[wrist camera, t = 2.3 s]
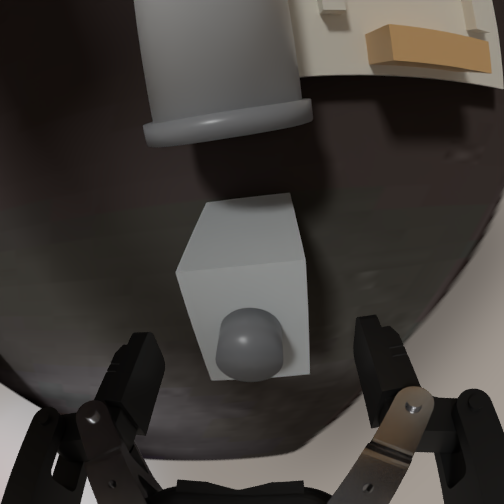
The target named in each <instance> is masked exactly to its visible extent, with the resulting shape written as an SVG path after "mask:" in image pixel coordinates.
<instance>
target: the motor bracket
mask: <svg viewBox="0 0 504 504" xmlns="http://www.w3.org/2000/svg"><path fill="white" fill-rule="evenodd" d="M134 6H135V14H136V22H137V29H138V37H139V44H140V50H141V57H142V63H143V69H144V76H145V82H146V87H147V93H148V99H149V104H150V109H151V115H152V120H153V122H151V123H148V124H145V125H143V129H144V134H145V139H146V143H147V146H148V147H169V146H178V145H186V144H193V143H200V142H207V141H213V140H220V139H226V138H233V137H239V136H245V135H251V134H257V133H263V132H268V131H274V130H279V129H284V128H289V127H294V126H298V125H302V124H305V123H308V122H311V121H312V120H313V113H312V103H311V99H309V98H302V94H301V86H300V78H301V77H317V76H353V75H363V76H398V77H414V78H426V79H437V80H446V81H454V82H461V83H468V84H475V85H481V86H486V87H493V88H500V89H504V88H503V73H502V61H501V52H500V44H499V37H498V30H497V24H496V19H495V13H494V8H493V4H492V0H134Z"/></svg>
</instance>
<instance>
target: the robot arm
mask: <svg viewBox="0 0 504 504" xmlns="http://www.w3.org/2000/svg"><path fill="white" fill-rule="evenodd" d="M353 349H354V359H355V363H356V367H357V371H358V375H359V379H360V383H361V387H362V391H363V395H364V399H365V403H366V407H367V411H368V416H369V420H370V425H371V428H376V427H379V428H378V430H377V432H376V434H375V435H374V437H373V439H372V440H371V442H370V443H368V444H367V446H366V447H365V449H364V450H363V452H362V453H361V455H360V456H359V458H358V460H357V461H356V463H355V464H354V466H353V467H352V469H351V470H350V472H349V473H348V475H347V476H346V478H345V479H344V480H343V482H342V483H341V485H340V486H339V488H338V489H337V490H336V492H335V493H334V494H333V496H332V495H330V494H328V493H326V492H323V491H321V490H318V489H314V488H308V487H304V482H303V481H290V482H271V483H267V484H264V485H259V486H255V487H251V488H246V489H241V490H235V489H231V488H227V487H223V486H220V485H216V484H212V483H209V482H201V481H189V480H177V486H176V487H171V488H167V489H164V490H163V489H162V488H161V486H160V485H159V484H158V483H157V481H156V480H155V478H154V477H153V476H152V473H151V472H150V470H149V468H148V466H147V464H146V462H145V460H144V458H143V457H142V455H141V453H140V451H139V449H138V447H137V445H136V443H135V442H134V439H135V436H136V435H144V436H146V434H147V430H148V426H149V423H150V419H151V416H152V412H153V409H154V405H155V402H156V398H157V395H158V392H159V388H160V385H161V382H162V378H163V375H164V371H165V362H164V358H163V356H162V353H161V351H160V349H159V347H158V344H157V342H156V340H155V337H154V335H153V334H152V333H151V332H137V333H133V334H132V336H131V338H130V340H129V342H128V344H127V345H123V346H122V347H121V348H120V349H119V350H118V351H117V352H116V353H115V355H114V357H113V359H112V361H111V365H110V366H109V368H108V370H107V371H108V372H106V374H105V376H104V379H103V381H102V383H101V385H100V388H99V390H98V392H97V395H96V397H95V399H94V400H92V401H89V402H86V403H85V404H83V405H82V406H81V407H80V408H79V409H78V411H77V413H71V414H64V415H60V414H59V413H58V411H57V410H56V409H55V408H52V407H45V408H42V409H41V410H39V411H38V412H37V413H36V414H35V415H34V417H33V419H32V422H31V424H30V426H29V429H28V431H27V434H26V436H25V438H24V441H23V443H22V446H21V448H20V451H19V453H18V456H17V458H16V461H15V464H14V466H13V469H12V472H11V475H10V478H9V480H8V483H7V486H6V489H5V493H4V496H3V499H2V502H1V504H80V502H81V498H82V494H83V490H84V486H85V482H86V479H87V477H88V479H89V482H90V485H91V487H92V490H93V493H94V495H95V498H96V500H97V503H98V504H389V502H390V501H391V499H392V497H393V495H394V494H395V492H396V490H397V488H398V487H399V485H400V483H401V481H402V479H403V477H404V476H405V474H406V472H407V470H408V468H409V466H410V463H411V461H412V457H413V455H414V453H415V452H434V454H435V459H436V463H437V468H438V473H439V478H440V482H441V488H442V493H443V499H444V504H504V432H503V429H502V427H501V424H500V421H499V419H498V416H497V414H496V411H495V409H494V406H493V404H492V401H491V399H490V397H489V396H488V395H487V394H486V393H485V392H484V391H482V390H479V389H468V390H465V391H464V392H462V393H461V394H460V396H459V397H458V398H438V397H434V396H432V395H431V394H430V393H429V392H428V391H427V390H425V389H424V388H422V387H421V386H420V384H419V381H418V379H417V376H416V374H415V371H414V369H413V366H412V364H411V362H410V359H409V357H408V355H407V352H406V350H405V347H403V343H402V340H401V338H400V336H399V334H398V333H397V332H396V331H395V330H394V329H393V328H391V327H390V326H387V327H381V325H380V323H379V320H378V318H377V316H376V315H370V316H363V317H357V318H356V325H355V336H354V347H353ZM56 453H59V457H58V460H57V463H56V466H55V469H54V473H53V476H52V475H51V469H52V466H53V462H54V459H55V456H56Z"/></svg>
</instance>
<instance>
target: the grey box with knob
mask: <svg viewBox="0 0 504 504" xmlns="http://www.w3.org/2000/svg"><path fill="white" fill-rule="evenodd" d="M176 276H177V279H178V282H179V286H180V289H181V292H182V295H183V299H184V302H185V305H186V308H187V311H188V314H189V317H190V320H191V323H192V326H193V329H194V332H195V335H196V338H197V341H198V344H199V347H200V350H201V353H202V356H203V358H204V361H205V364H206V367H207V370H208V372H209V375H210V378H211V380H239V381H244V382H258V381H263V380H266V379H269V378H273V377H285V376H296V375H306V374H310V355H309V320H308V296H307V275H306V259H305V255H304V250H303V246H302V241H301V237H300V233H299V228H298V224H297V220H296V216H295V212H294V207H293V203H292V199H291V195H290V193H281V194H272V195H263V196H254V197H246V198H238V199H230V200H222V201H214V202H207V203H206V205H205V207H204V209H203V211H202V213H201V215H200V218H199V220H198V222H197V224H196V226H195V229H194V231H193V233H192V235H191V238H190V240H189V242H188V244H187V247H186V249H185V251H184V254H183V256H182V258H181V261H180V263H179V265H178V268H177V270H176Z"/></svg>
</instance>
